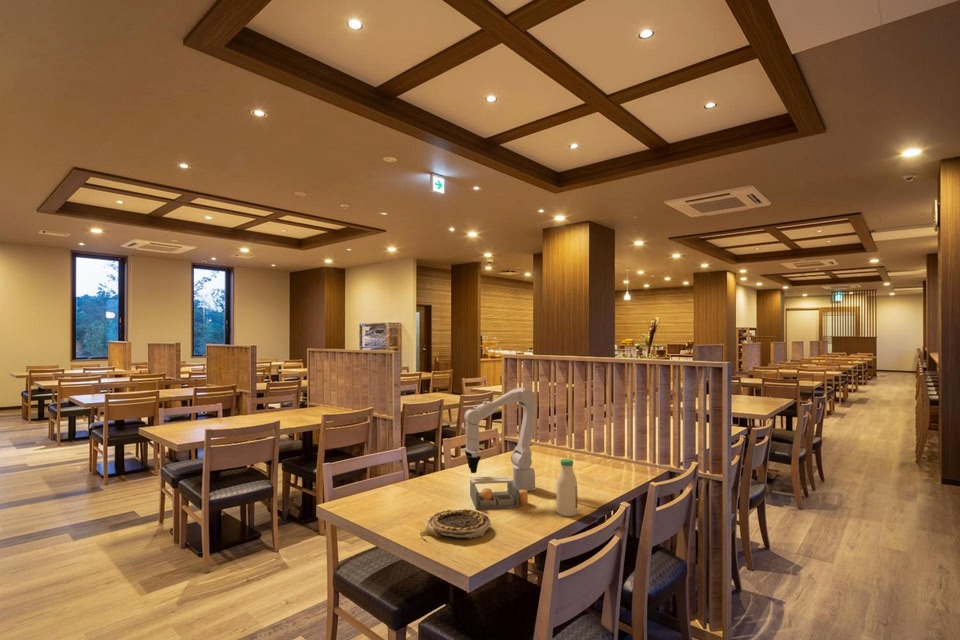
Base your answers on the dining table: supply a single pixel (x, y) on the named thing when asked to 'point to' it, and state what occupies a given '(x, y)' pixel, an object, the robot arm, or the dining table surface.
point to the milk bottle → (566, 490)
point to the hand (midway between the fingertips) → (472, 470)
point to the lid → (491, 479)
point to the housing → (495, 497)
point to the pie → (457, 524)
